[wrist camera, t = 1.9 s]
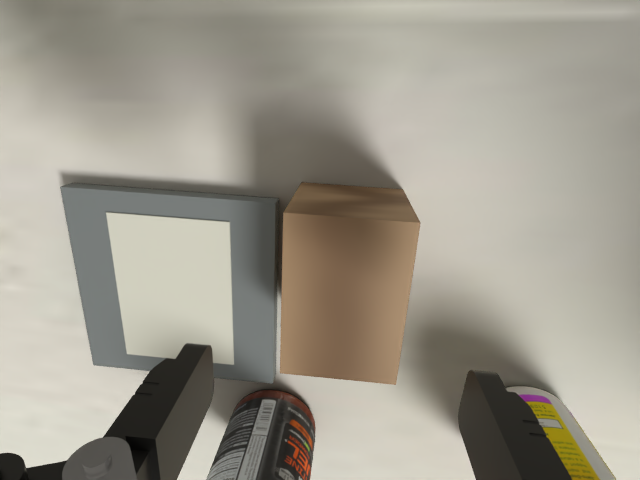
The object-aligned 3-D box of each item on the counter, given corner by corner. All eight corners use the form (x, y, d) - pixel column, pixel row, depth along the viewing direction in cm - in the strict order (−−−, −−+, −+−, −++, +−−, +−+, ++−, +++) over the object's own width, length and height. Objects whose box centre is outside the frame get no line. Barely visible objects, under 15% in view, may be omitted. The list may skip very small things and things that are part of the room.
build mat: (278, 198, 21) (275, 203, 20) (275, 373, 26) (272, 384, 25) (72, 182, 22) (59, 187, 21) (102, 355, 26) (92, 366, 25)
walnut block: (402, 188, 21) (420, 222, 15) (386, 316, 24) (395, 384, 18) (302, 181, 21) (283, 212, 16) (297, 308, 24) (280, 373, 18)
